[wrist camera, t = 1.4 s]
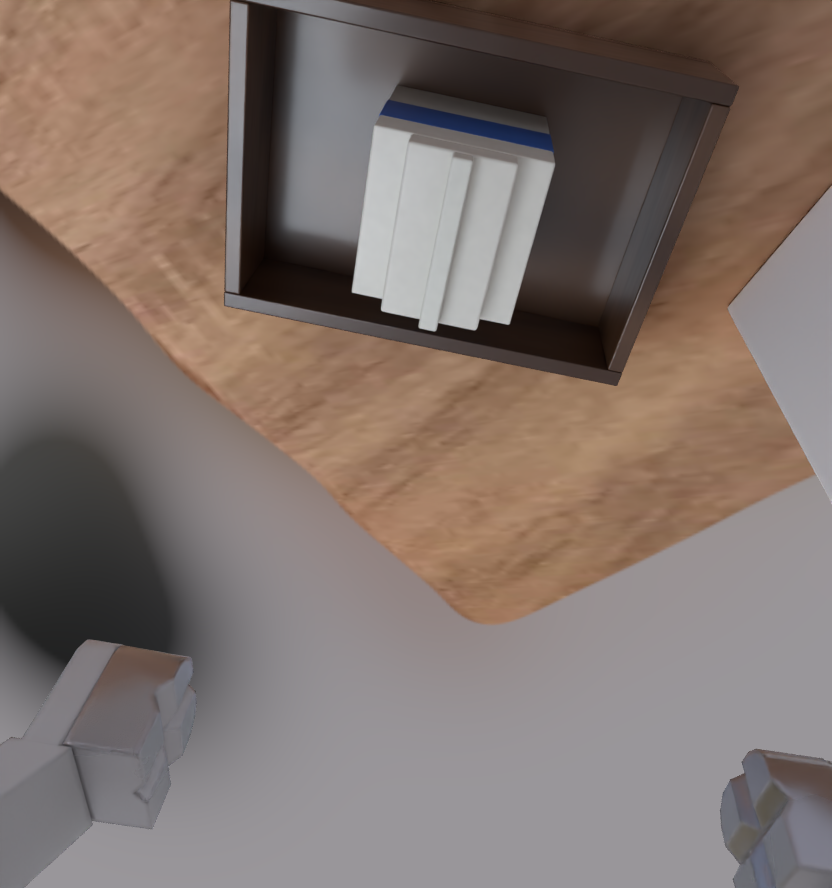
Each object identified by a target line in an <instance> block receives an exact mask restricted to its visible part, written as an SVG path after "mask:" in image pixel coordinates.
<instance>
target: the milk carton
mask: <svg viewBox="0 0 832 888" xmlns="http://www.w3.org/2000/svg"><path fill="white" fill-rule="evenodd" d="M553 154H554V149H553V144H552V139H551V135H550V134H549V129H548V123H547V118H546V117H543V116H539V115H534V114H530V113H525V112H520V111H516V110H511V109H506V108H502V107H497V106H492V105H488V104H483V103H478V102H474V101H469V100H464V99H460V98H455V97H450V96H446V95H441V94H436V93H432V92H427V91H422V90H418V89H413V88H408V87H404V86H399V85H397V86H396V88H395V89H394V91H393V93H392V95H391V96H390V98H389V100H387V102H386V103H385V105H384V107H383V109H382V111H381V112H380V114H379V118H378V120H377V122H376V123H375V125H374V129H373V136H372V143H371V151H370V158H369V166H368V173H367V181H366V188H365V196H364V203H363V210H362V218H361V225H360V233H359V240H358V248H357V255H356V263H355V270H354V278H353V285H352V293H356V294H361V295H366V296H371V297H376V298H380V299H382V304H381V311H383V312H387V313H392V314H397V315H402V316H407V317H411V318H416V319H420V320H419V325H418V327H419V328H420V329H425V330H430V331H436V330H437V326H438V323H441V324H446V325H450V326H455V327H460V328H465V329H470V330H476V329H477V328H478V324H479V320H480V319H482V320H487V321H492V322H497V323H502V324H507V325H509V324H510V322H511V318H512V315H513V311H514V308H515V304H516V301H517V297H518V294H519V290H520V287H521V283H522V280H523V276H524V273H525V269H526V266H527V262H528V259H529V255H530V252H531V248H532V245H533V241H534V238H535V234H536V231H537V227H538V224H539V220H540V217H541V213H542V210H543V206H544V203H545V199H546V196H547V192H548V189H549V185H550V182H551V178H552V175H553V171H554V168H555V160H554V155H553Z"/></svg>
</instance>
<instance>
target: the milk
mask: <svg viewBox="0 0 832 888" xmlns="http://www.w3.org/2000/svg"><path fill="white" fill-rule="evenodd" d="M728 311H729V313H730V315H731V317H732V319H733V321H734V323H735V324H736V326H737V328H738V330H739V332H740V334H741V336H742V338H743V339H744V341H745V343H746V345H747V347H748V349H749V351H750V352H751V354H752V356H753V358H754V360H755V362H756V364H757V365H758V367H759V369H760V371H761V373H762V375H763V377H764V379H765V380H766V382H767V384H768V386H769V388H770V390H771V392H772V393H773V395H774V397H775V399H776V401H777V403H778V405H779V406H780V408H781V410H782V412H783V414H784V416H785V418H786V420H787V421H788V423H789V425H790V427H791V429H792V431H793V433H794V434H795V436H796V438H797V440H798V442H799V444H800V446H801V447H802V449H803V451H804V453H805V455H806V457H807V459H808V461H809V462H810V464H811V466H812V468H813V470H814V472H815V474H816V475H817V477H818V479H819V481H820V483H821V485H822V486H823V488H824V490H825V492H826V494H827V496H828V498H829V500H830V502H831V503H832V185H831V187H830V188H829V189H828V190H827V191H826V193H825V194H824V195H823V196H822V197H821V198H820V200H819V201H818V202H817V203H816V204H815V205H814V207H813V208H812V209H811V210H810V211H809V212H808V214H807V215H806V216H805V217H804V218H803V219H802V221H801V222H800V223H799V224H798V225H797V226H796V228H795V229H794V230H793V231H792V232H791V233H790V235H789V236H788V237H787V238H786V239H785V240H784V242H783V243H782V244H781V245H780V246H779V248H778V249H777V250H776V251H775V252H774V253H773V255H772V256H771V257H770V258H769V259H768V260H767V262H766V263H765V264H764V265H763V266H762V267H761V269H760V270H759V271H758V272H757V273H756V274H755V276H754V277H753V278H752V279H751V280H750V281H749V283H748V284H747V285H746V286H745V287H744V288H743V290H742V291H741V292H740V293H739V294H738V295H737V297H736V298H735V299H734V300H733V301H732V303H731V304H730V305H729V306H728Z"/></svg>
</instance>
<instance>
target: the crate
mask: <svg viewBox="0 0 832 888" xmlns="http://www.w3.org/2000/svg"><path fill="white" fill-rule="evenodd" d="M397 85H399V86H404V87H408V88H413V89H418V90H422V91H427V92H432V93H436V94H441V95H446V96H450V97H455V98H460V99H464V100H469V101H474V102H478V103H483V104H488V105H492V106H497V107H502V108H506V109H511V110H516V111H520V112H525V113H530V114H534V115H539V116H543V117H546V118H547V123H548V129H549V134H550V135H551V139H552V144H553V149H554V154H553V155H554V160H555V168H554V171H553V175H552V178H551V182H550V185H549V189H548V192H547V196H546V199H545V203H544V206H543V210H542V213H541V217H540V220H539V224H538V227H537V231H536V234H535V238H534V241H533V245H532V248H531V252H530V255H529V259H528V262H527V266H526V269H525V273H524V276H523V280H522V283H521V287H520V290H519V294H518V297H517V301H516V304H515V308H514V311H513V315H512V318H511V322H510V324H509V325H507V324H502V323H497V322H492V321H487V320H482V319H480V320H479V324H478V328H477V329H476V330H470V329H465V328H460V327H455V326H450V325H446V324H441V323H438V326H437V330H436V331H430V330H425V329H420V328H419V327H418V325H419V320H420V319H416V318H411V317H407V316H402V315H397V314H392V313H387V312H383V311H381V304H382V299H380V298H376V297H371V296H366V295H361V294H356V293H352V285H353V278H354V270H355V263H356V255H357V248H358V240H359V233H360V225H361V218H362V210H363V203H364V196H365V188H366V181H367V173H368V166H369V158H370V151H371V143H372V136H373V129H374V125H375V123H376V122H377V120H378V118H379V114H380V112H381V111H382V109H383V107H384V105H385V103H386V102H387V100H389V98H390V96H391V95H392V93H393V91H394V89H395V88H396V86H397ZM738 89H739V86H738V85H737V84H735V83H734V82H733V81H732V80H731V79H729V78H728V77H727V76H726V75H724V74H723V73H722V72H721V71H720V70H718V69H717V68H716V67H715V66H714V65H712V64H711V63H710V62H709V61H705V60H700V59H696V58H691V57H687V56H682V55H677V54H673V53H668V52H664V51H659V50H655V49H650V48H645V47H641V46H636V45H632V44H627V43H622V42H618V41H613V40H609V39H604V38H600V37H595V36H590V35H586V34H581V33H577V32H572V31H568V30H563V29H558V28H554V27H549V26H545V25H540V24H535V23H531V22H526V21H522V20H517V19H513V18H508V17H503V16H499V15H494V14H490V13H485V12H481V11H476V10H471V9H467V8H462V7H458V6H453V5H448V4H444V3H439V2H435V1H430V0H230V25H229V78H228V130H227V183H226V236H225V288H224V289H225V292H224V306H227V307H232V308H237V309H242V310H247V311H252V312H257V313H262V314H266V315H271V316H276V317H281V318H286V319H291V320H296V321H301V322H306V323H311V324H315V325H320V326H325V327H330V328H335V329H340V330H345V331H350V332H355V333H360V334H364V335H369V336H374V337H379V338H384V339H389V340H394V341H399V342H404V343H409V344H413V345H418V346H423V347H428V348H433V349H438V350H443V351H448V352H453V353H458V354H462V355H467V356H472V357H477V358H482V359H487V360H492V361H497V362H502V363H507V364H511V365H516V366H521V367H526V368H531V369H536V370H541V371H546V372H551V373H556V374H560V375H565V376H570V377H575V378H580V379H585V380H590V381H595V382H600V383H605V384H609V385H614V386H617V385H618V382H619V380H620V377H621V375H622V372H623V370H624V367H625V365H626V362H627V360H628V357H629V355H630V353H631V350H632V348H633V345H634V343H635V340H636V338H637V335H638V333H639V331H640V328H641V326H642V323H643V321H644V318H645V316H646V314H647V311H648V309H649V306H650V304H651V301H652V299H653V296H654V294H655V292H656V289H657V287H658V284H659V282H660V279H661V277H662V274H663V272H664V270H665V267H666V265H667V262H668V260H669V257H670V255H671V252H672V250H673V248H674V245H675V243H676V240H677V238H678V235H679V233H680V231H681V228H682V226H683V223H684V221H685V218H686V216H687V213H688V211H689V209H690V206H691V204H692V201H693V199H694V196H695V194H696V191H697V189H698V187H699V184H700V182H701V179H702V177H703V174H704V172H705V169H706V167H707V165H708V162H709V160H710V157H711V155H712V152H713V150H714V148H715V145H716V143H717V140H718V138H719V135H720V133H721V130H722V128H723V126H724V123H725V121H726V118H727V116H728V113H729V111H730V107H729V106H731V105H732V104H733V101H734V99H735V96H736V94H737V91H738Z"/></svg>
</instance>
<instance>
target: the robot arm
mask: <svg viewBox="0 0 832 888" xmlns="http://www.w3.org/2000/svg"><path fill="white" fill-rule="evenodd" d="M193 672H194V671H193V665H192V659H191V658H190V657H184V656H179V655H174V654H168V653H163V652H157V651H151V650H146V649H141V648H135V647H129V646H124V645H120V644H114V643H108V642H102V641H95V640H89V639H88V640H86V641H85V642H84V643H83V644H82V645H81V646H80V647H79V648H78V649H77V650H76V652H75V653H74V655H73V657H72V658H71V660H70V662H69V663H68V665H67V666H66V668H65V670H64V671H63V673H62V674H61V676H60V678H59V679H58V681H57V682H56V684H55V686H54V687H53V689H52V690H51V692H50V694H49V695H48V697H47V698H46V700H45V702H44V703H43V705H42V707H41V708H40V710H39V711H38V713H37V715H36V716H35V718H34V719H33V721H32V723H31V724H30V726H29V728H28V729H27V731H26V732H25V734H24V736H23V737H22V738H15V737H11V738H9V739H8V740H6V741H5V742H3V743H2V744H0V888H24V887H25V886H27V885H28V884H29V883H30V882H31V881H32V880H33V879H34V878H35V877H36V876H37V875H39V874H40V873H41V872H42V871H43V870H44V869H45V868H46V867H47V866H48V865H50V864H51V863H52V862H53V861H54V860H55V859H56V858H57V857H58V856H59V855H60V854H62V853H63V852H64V851H65V850H66V849H67V848H68V847H69V846H70V845H71V844H73V843H74V842H75V841H76V840H77V839H78V838H79V837H80V836H81V835H82V834H83V833H85V831H87V830H88V829H89V828H90V827H91V826H92V824H93V823H92V821H96V822H103V823H110V824H118V825H124V826H132V827H139V828H146V829H153V827H154V824H155V822H156V819H157V817H158V815H159V812H160V810H161V807H162V805H163V802H164V800H165V798H166V795H167V793H168V790H169V788H170V785H171V781H170V774H169V767H168V766H170V765H171V764H172V763H173V762H175V761H176V760H177V759H179V758H180V757H181V756H182V755H183V753H184V751H185V748H186V746H187V743H188V741H189V738H190V735H191V731H192V727H193V723H194V719H195V713H196V691H195V690H194V689H193V688H192V687H191V686H190V685H189V682H190V679H191V677H192V674H193ZM742 765H743V768H744V774H742V775H739V776H737V777H735V778H733V779H730V781H729V783H728V785H727V787H726V788H725V790H724V792H723V796H722V803H721V809H720V815H721V828H722V832H723V838H724V842H725V846H726V848H727V849H728V850H729V851H730V853H731V854H732V855H733V856H734V857H735V859H736V860H737V861H738V862H739V864H740V866H739V868H738V870H737V872H736V874H735V876H734V878H733V882H734V886H735V888H832V761H826V760H824V759H822V758H815V757H808V756H801V755H795V754H788V753H781V752H774V751H767V750H761V749H754V750H752V751H749V752H748V753H747V755H746V756H745V758H744V759H743V761H742Z"/></svg>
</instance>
